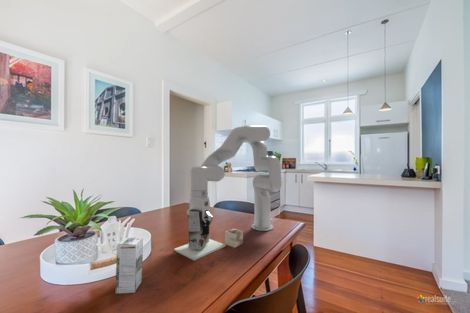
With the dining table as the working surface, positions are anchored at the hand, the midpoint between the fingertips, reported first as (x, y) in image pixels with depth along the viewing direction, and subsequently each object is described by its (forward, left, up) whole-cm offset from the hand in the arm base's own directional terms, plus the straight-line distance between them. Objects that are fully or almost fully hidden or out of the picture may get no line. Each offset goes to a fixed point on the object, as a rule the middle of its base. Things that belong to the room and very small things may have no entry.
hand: (199, 232), depth 92 cm
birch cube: (-15, +8, -8) cm, 18 cm away
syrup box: (+32, +6, -8) cm, 34 cm away
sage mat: (-1, 0, -7) cm, 8 cm away
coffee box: (0, 0, -6) cm, 6 cm away
